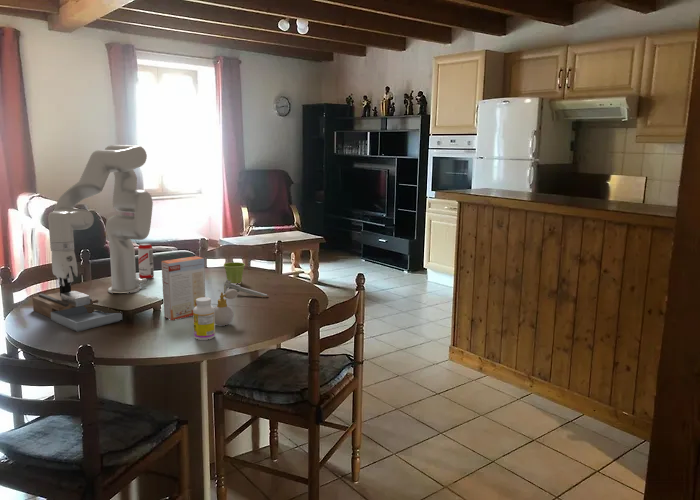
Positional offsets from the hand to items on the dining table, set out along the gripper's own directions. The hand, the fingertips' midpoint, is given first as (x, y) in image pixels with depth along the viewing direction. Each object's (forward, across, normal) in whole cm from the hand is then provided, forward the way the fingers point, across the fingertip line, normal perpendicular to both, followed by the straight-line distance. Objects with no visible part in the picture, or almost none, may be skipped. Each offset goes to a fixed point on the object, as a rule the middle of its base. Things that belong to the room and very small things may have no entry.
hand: (65, 295), depth 201 cm
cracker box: (+6, -34, -27) cm, 43 cm away
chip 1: (+1, -4, 0) cm, 4 cm away
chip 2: (+1, -9, 0) cm, 9 cm away
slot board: (+6, +1, 0) cm, 6 cm away
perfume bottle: (+6, -52, -30) cm, 60 cm away
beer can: (+6, +26, -48) cm, 55 cm away
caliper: (+7, -29, -60) cm, 67 cm away
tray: (+6, -14, 0) cm, 15 cm away
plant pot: (+6, -10, -69) cm, 70 cm away
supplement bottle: (+6, -58, -17) cm, 61 cm away
